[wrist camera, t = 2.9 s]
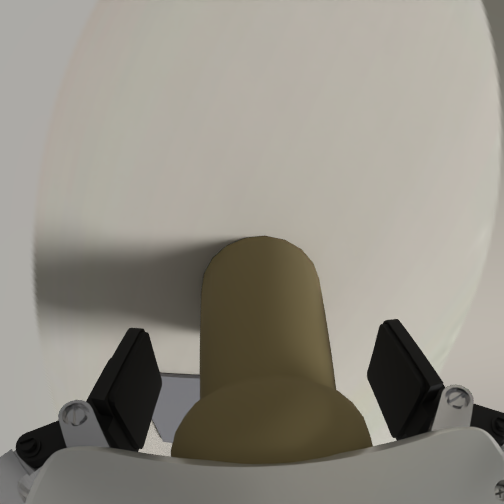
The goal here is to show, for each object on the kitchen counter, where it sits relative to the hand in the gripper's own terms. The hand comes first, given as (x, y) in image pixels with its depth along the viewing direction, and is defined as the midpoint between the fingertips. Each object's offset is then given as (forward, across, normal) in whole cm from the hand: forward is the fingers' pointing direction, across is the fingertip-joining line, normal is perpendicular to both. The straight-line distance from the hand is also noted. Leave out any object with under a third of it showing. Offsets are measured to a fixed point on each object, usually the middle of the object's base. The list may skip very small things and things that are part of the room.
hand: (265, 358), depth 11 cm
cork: (+4, 0, -1) cm, 5 cm away
